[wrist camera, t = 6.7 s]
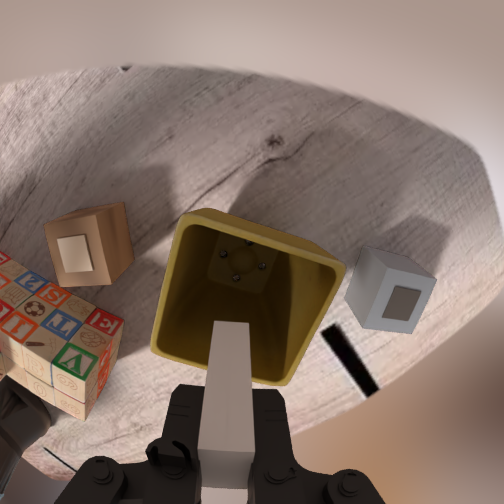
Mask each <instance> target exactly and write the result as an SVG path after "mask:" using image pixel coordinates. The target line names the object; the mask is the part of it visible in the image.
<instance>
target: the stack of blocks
mask: <svg viewBox="0 0 504 504" xmlns="http://www.w3.org/2000/svg"><path fill="white" fill-rule="evenodd" d="M123 325H124V320H123V319H121V318H118V317H116V316H114V315H112V314H109V313H107V312H105V311H103V310H101V309H99V308H97V307H96V306H95V305H93V304H91V303H89V302H87V301H85V300H83V299H81V298H79V297H77V296H75V295H72V294H71V293H69V292H68V291H66V290H64V289H62V288H61V287H59V286H57V285H55V284H53V283H52V282H49V281H47V280H45V279H44V278H42V277H40V276H38V275H37V274H35V273H33V272H32V271H29V270H28V269H27V268H25V267H23V266H22V265H20V264H18V263H17V262H15V261H14V260H12V259H11V258H10V257H8V256H7V255H5V254H4V253H2V252H1V251H0V381H1V380H2V379H3V378H4V376H5V375H8V376H9V377H11V378H12V379H13V380H15V381H16V382H18V383H19V384H21V385H22V386H24V387H25V388H27V389H29V390H30V391H31V392H32V393H34V394H35V395H37V396H39V397H40V398H42V399H43V400H45V401H47V402H48V403H50V404H52V405H53V406H56V407H58V408H59V409H61V410H63V411H65V412H66V413H68V414H70V415H72V416H74V417H76V418H78V419H80V420H82V421H84V422H85V421H86V419H87V417H88V415H89V413H90V411H91V409H92V407H93V405H94V403H95V401H96V399H97V398H98V396H99V395H100V393H101V391H102V389H103V387H104V385H105V383H106V381H107V379H108V377H109V375H110V373H111V371H112V369H113V367H114V365H115V363H116V360H117V354H118V349H119V344H120V340H121V336H122V331H123Z"/></svg>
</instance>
